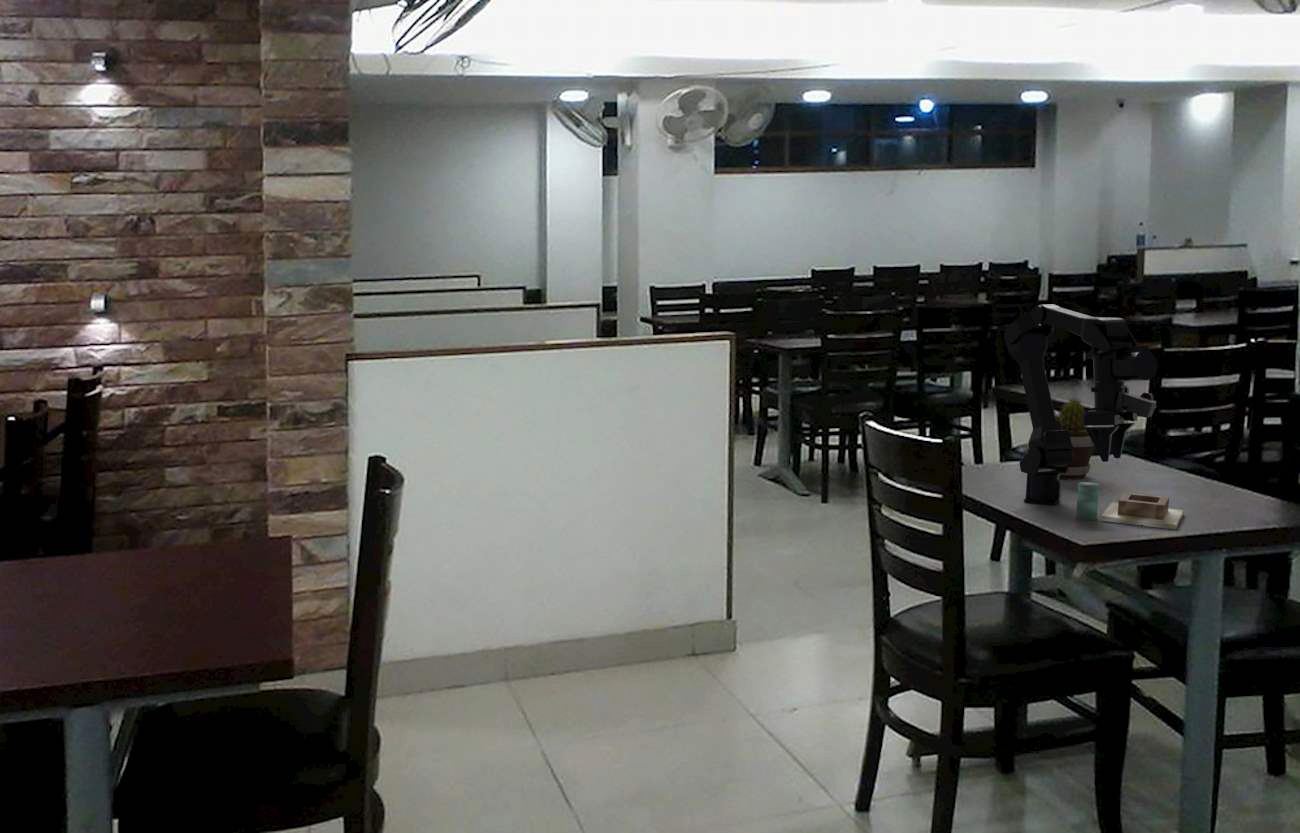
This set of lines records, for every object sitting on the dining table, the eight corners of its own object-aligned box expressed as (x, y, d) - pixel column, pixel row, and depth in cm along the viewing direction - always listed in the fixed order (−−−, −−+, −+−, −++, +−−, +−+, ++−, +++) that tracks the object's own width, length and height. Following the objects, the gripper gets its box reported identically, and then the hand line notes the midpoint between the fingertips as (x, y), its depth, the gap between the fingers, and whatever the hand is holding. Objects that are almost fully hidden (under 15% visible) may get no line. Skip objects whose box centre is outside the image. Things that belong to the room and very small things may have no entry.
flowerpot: (1022, 469, 309) (1027, 386, 306) (1086, 470, 308) (1092, 387, 305) (1037, 481, 295) (1043, 395, 291) (1105, 483, 294) (1111, 396, 291)
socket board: (1101, 520, 258) (1102, 501, 257) (1111, 506, 270) (1113, 488, 270) (1175, 529, 252) (1177, 509, 251) (1183, 515, 264) (1184, 495, 263)
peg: (1074, 518, 259) (1076, 484, 258) (1077, 514, 263) (1080, 481, 262) (1095, 521, 258) (1097, 487, 256) (1098, 517, 261) (1100, 483, 260)
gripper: (1139, 381, 242) (1142, 463, 242) (1162, 378, 258) (1164, 456, 258) (1079, 383, 248) (1082, 463, 249) (1105, 380, 264) (1107, 456, 264)
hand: (1111, 460), depth 255 cm, fingers open, 9 cm apart
